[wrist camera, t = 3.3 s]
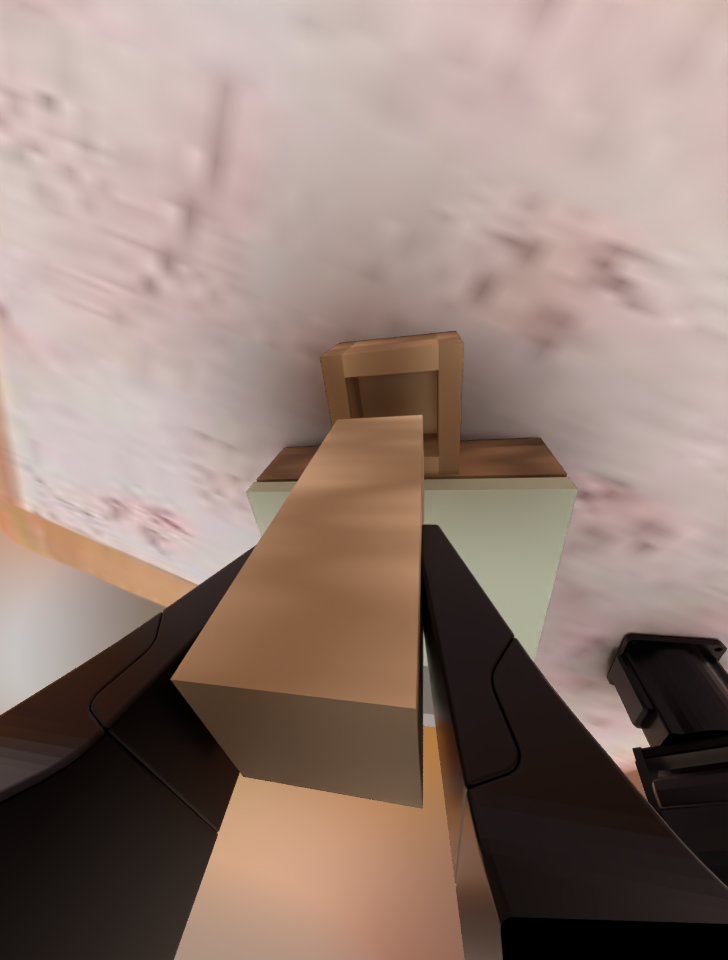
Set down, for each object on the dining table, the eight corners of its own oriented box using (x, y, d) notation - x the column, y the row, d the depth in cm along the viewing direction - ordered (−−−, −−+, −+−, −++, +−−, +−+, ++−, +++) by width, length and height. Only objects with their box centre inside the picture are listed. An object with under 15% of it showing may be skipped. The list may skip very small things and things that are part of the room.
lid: (569, 477, 15) (610, 533, 12) (518, 694, 25) (533, 759, 21) (254, 482, 18) (215, 527, 15) (317, 672, 28) (302, 726, 24)
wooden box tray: (560, 320, 16) (599, 331, 12) (506, 639, 28) (517, 689, 25) (258, 351, 19) (220, 367, 15) (330, 625, 32) (318, 669, 28)
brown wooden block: (422, 414, 11) (416, 707, 3) (424, 489, 13) (422, 808, 5) (337, 419, 12) (170, 679, 4) (348, 490, 13) (243, 777, 6)
